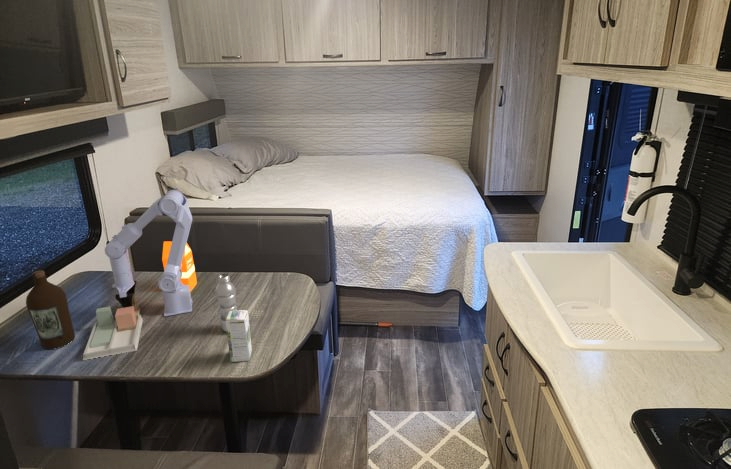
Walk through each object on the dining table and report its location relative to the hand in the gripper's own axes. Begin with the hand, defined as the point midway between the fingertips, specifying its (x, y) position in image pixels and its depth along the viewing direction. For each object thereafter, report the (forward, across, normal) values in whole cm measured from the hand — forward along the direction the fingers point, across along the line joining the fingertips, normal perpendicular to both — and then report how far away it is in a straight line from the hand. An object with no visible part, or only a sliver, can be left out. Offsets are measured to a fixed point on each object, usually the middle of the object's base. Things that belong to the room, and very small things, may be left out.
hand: (130, 306), depth 169 cm
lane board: (+3, +16, -3) cm, 16 cm away
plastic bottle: (+3, +24, +33) cm, 41 cm away
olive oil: (+3, +10, -21) cm, 24 cm away
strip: (+2, +13, -7) cm, 15 cm away
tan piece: (+2, +6, 0) cm, 6 cm away
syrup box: (+3, +40, +35) cm, 54 cm away
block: (+1, +10, 0) cm, 10 cm away
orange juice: (+3, -16, +17) cm, 23 cm away
